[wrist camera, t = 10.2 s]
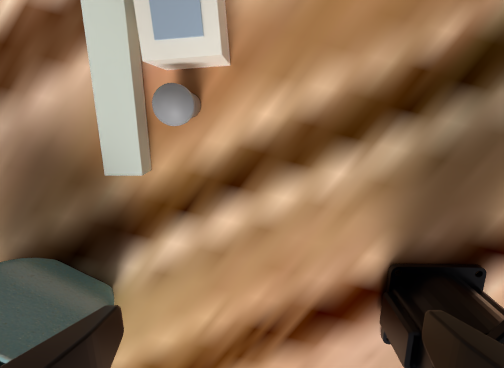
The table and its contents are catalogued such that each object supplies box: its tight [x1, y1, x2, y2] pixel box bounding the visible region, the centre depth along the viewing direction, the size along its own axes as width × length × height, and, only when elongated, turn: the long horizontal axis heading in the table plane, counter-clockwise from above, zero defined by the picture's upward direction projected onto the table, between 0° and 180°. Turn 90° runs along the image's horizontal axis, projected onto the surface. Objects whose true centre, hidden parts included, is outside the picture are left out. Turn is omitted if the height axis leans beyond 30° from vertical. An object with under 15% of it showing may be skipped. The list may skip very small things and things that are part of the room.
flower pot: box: [0, 258, 114, 366], centre depth 19 cm, size 9×9×9 cm
